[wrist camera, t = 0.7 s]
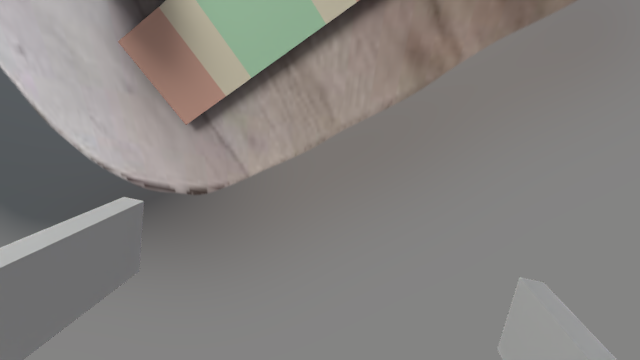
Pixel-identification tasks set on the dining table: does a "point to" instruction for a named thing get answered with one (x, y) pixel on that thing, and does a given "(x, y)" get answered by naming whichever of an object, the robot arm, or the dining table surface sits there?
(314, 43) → the dining table surface
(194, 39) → the gauge plate
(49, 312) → the robot arm
